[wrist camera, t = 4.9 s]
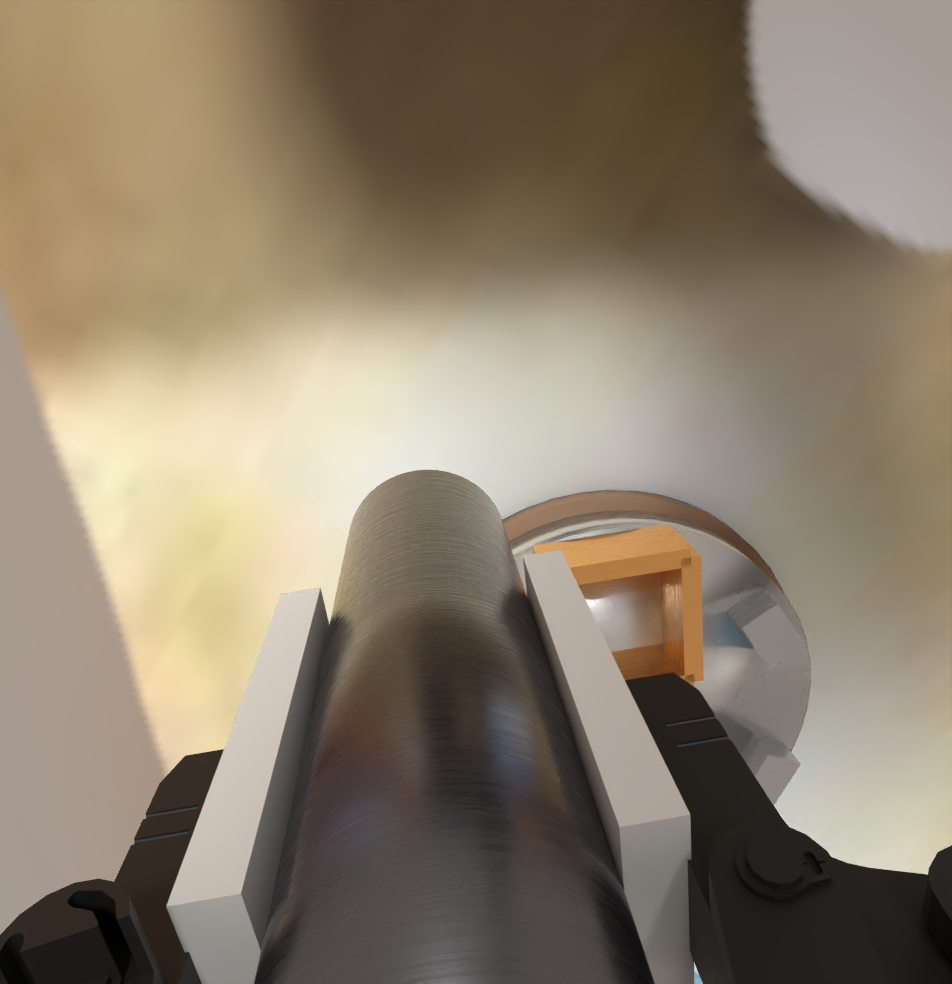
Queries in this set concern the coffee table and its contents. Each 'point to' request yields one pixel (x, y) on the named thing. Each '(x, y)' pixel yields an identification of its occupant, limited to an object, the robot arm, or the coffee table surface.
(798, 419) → the coffee table surface
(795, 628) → the lugged metal disc
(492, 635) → the steel pin
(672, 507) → the nut base
